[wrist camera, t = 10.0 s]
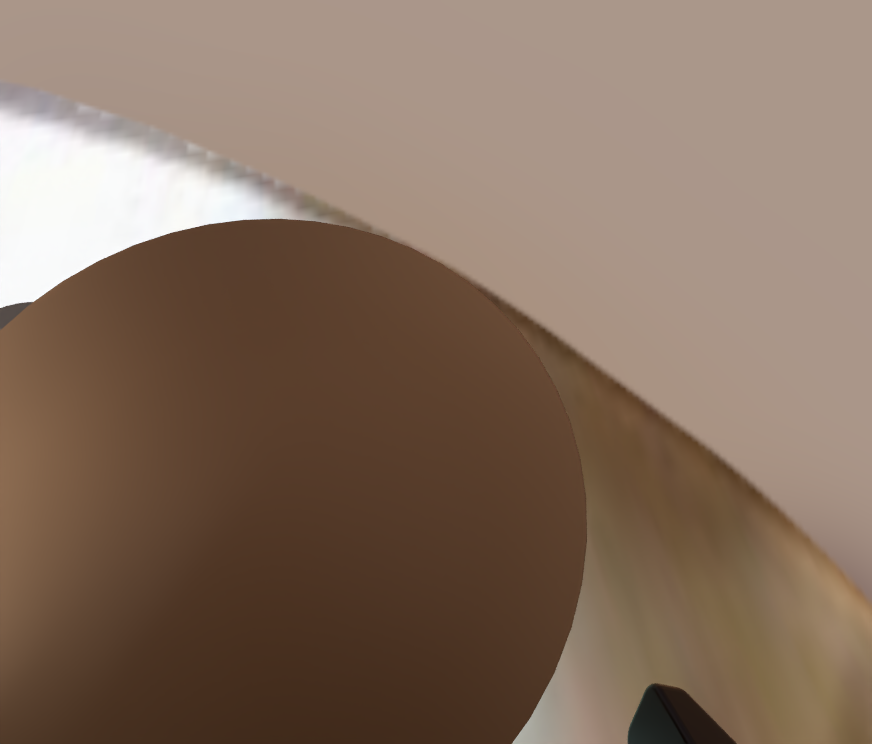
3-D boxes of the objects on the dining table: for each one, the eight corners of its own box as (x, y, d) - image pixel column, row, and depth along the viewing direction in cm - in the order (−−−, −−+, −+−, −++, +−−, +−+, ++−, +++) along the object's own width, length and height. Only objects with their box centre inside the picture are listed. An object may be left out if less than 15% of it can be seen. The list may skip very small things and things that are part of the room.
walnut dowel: (290, 729, 14) (-58, 1170, 2) (234, 574, 15) (-161, 326, 3) (433, 644, 15) (714, 629, 3) (370, 509, 16) (414, 164, 5)
